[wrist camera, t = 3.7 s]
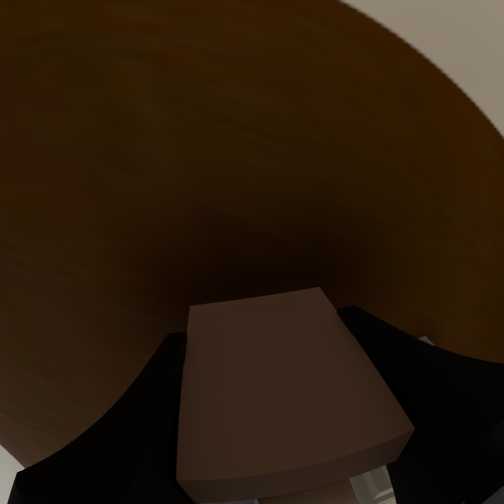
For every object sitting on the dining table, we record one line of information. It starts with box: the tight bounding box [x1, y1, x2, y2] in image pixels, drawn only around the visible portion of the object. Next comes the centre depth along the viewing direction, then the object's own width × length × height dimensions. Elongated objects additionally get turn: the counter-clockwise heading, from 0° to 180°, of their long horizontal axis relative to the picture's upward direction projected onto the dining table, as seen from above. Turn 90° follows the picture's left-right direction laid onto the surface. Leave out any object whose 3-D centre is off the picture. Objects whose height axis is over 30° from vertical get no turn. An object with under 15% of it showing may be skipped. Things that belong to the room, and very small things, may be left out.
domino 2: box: [349, 474, 395, 504], centre depth 18 cm, size 2×5×7 cm, turn 95°
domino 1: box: [176, 287, 415, 503], centre depth 8 cm, size 2×5×7 cm, turn 95°
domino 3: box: [363, 467, 393, 499], centre depth 16 cm, size 2×5×7 cm, turn 96°
